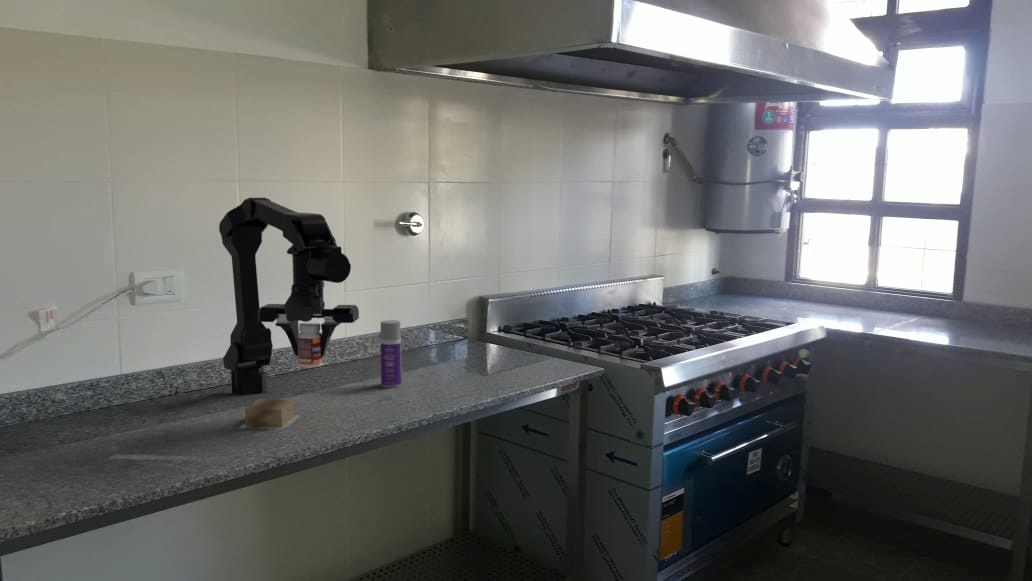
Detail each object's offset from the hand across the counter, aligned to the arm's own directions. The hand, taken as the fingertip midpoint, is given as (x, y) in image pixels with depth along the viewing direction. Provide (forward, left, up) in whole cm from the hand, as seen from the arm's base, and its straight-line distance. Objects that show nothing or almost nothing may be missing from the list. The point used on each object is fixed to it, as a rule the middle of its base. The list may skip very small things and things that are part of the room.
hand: (310, 356), depth 158 cm
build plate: (-3, -5, -12) cm, 14 cm away
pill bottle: (0, 0, -2) cm, 2 cm away
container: (+11, +26, -13) cm, 31 cm away
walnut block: (-6, -6, -12) cm, 15 cm away
